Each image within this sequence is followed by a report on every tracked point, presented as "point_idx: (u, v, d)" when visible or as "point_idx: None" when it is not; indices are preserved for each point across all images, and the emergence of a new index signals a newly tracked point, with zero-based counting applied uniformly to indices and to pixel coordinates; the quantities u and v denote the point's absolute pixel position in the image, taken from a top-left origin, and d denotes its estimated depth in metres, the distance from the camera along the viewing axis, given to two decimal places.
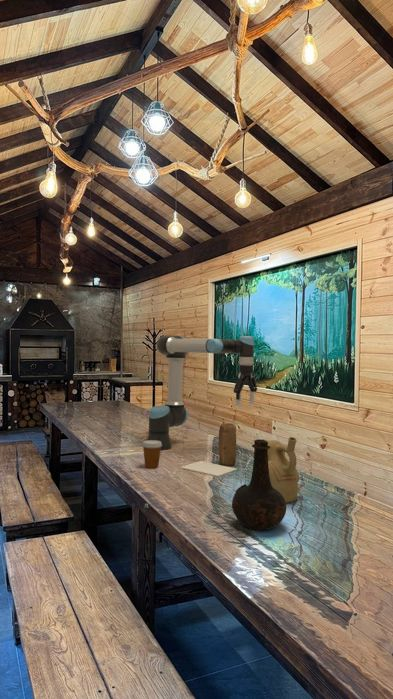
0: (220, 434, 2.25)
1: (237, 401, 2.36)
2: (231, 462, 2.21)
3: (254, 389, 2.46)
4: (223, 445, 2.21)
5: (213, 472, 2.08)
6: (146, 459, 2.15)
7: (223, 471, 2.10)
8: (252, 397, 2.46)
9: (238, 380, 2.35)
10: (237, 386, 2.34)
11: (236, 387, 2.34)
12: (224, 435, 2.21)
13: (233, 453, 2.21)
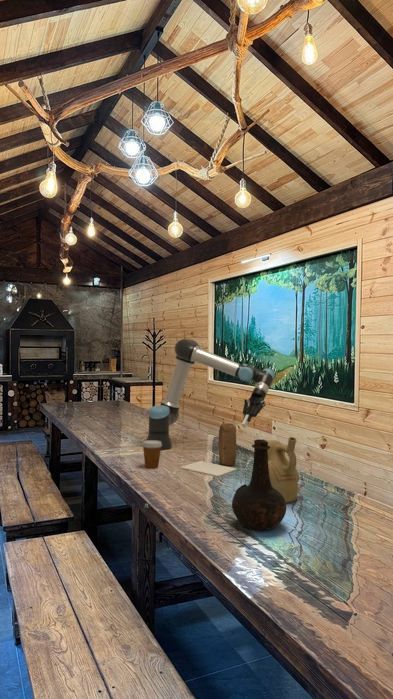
0: (220, 434, 2.25)
1: None
2: (231, 462, 2.21)
3: (250, 412, 2.42)
4: (223, 445, 2.21)
5: (213, 472, 2.08)
6: (146, 459, 2.15)
7: (223, 471, 2.10)
8: None
9: None
10: None
11: None
12: (224, 435, 2.21)
13: (233, 453, 2.21)
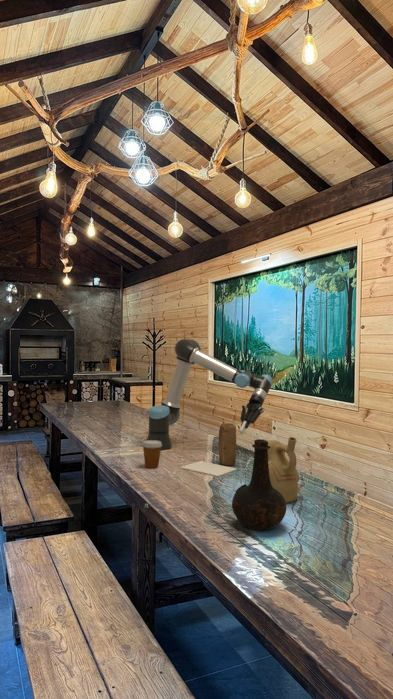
0: (220, 434, 2.25)
1: None
2: (231, 462, 2.21)
3: (248, 419, 2.40)
4: (223, 445, 2.21)
5: (213, 472, 2.08)
6: (146, 459, 2.15)
7: (223, 471, 2.10)
8: None
9: None
10: None
11: None
12: (224, 435, 2.21)
13: (233, 453, 2.21)
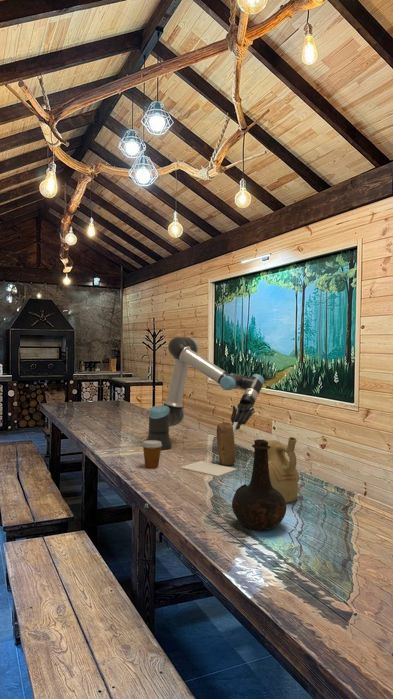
0: (218, 434, 2.24)
1: None
2: (231, 461, 2.21)
3: (239, 420, 2.32)
4: (221, 446, 2.20)
5: (213, 472, 2.08)
6: (146, 459, 2.15)
7: (223, 471, 2.10)
8: None
9: None
10: None
11: None
12: (221, 435, 2.19)
13: (232, 452, 2.21)
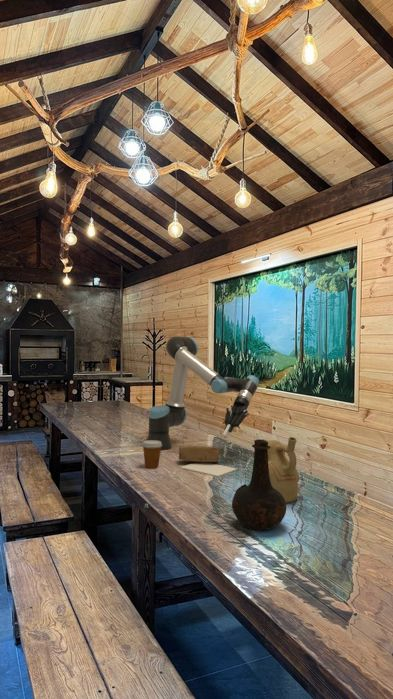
0: None
1: None
2: (215, 452, 2.22)
3: (232, 422, 2.27)
4: (197, 460, 2.21)
5: (213, 472, 2.08)
6: (146, 459, 2.15)
7: (223, 471, 2.10)
8: None
9: None
10: None
11: None
12: (187, 459, 2.21)
13: (205, 450, 2.22)
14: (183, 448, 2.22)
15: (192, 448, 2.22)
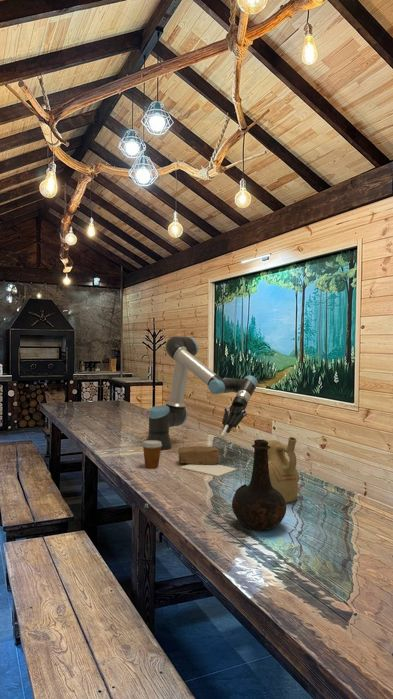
0: None
1: None
2: (214, 455, 2.21)
3: (230, 423, 2.26)
4: (197, 463, 2.21)
5: (213, 472, 2.08)
6: (146, 459, 2.15)
7: (223, 471, 2.10)
8: None
9: None
10: None
11: None
12: (187, 462, 2.21)
13: (205, 453, 2.20)
14: (183, 452, 2.21)
15: (192, 452, 2.21)
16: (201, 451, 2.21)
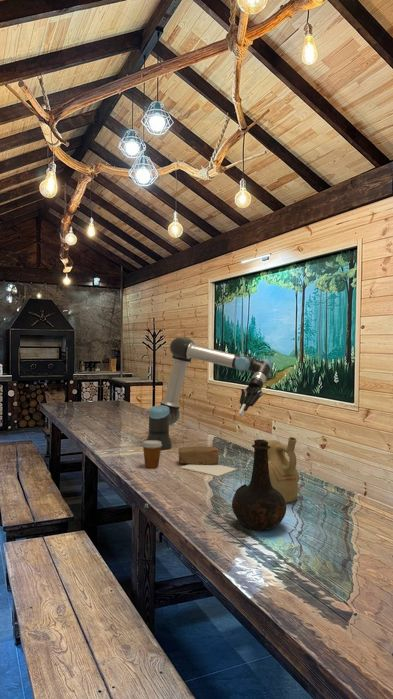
0: None
1: None
2: (214, 455, 2.21)
3: (247, 402, 2.41)
4: (197, 463, 2.21)
5: (213, 472, 2.08)
6: (146, 459, 2.15)
7: (223, 471, 2.10)
8: None
9: None
10: None
11: None
12: (187, 462, 2.21)
13: (205, 453, 2.20)
14: (183, 452, 2.21)
15: (192, 452, 2.21)
16: (201, 451, 2.21)
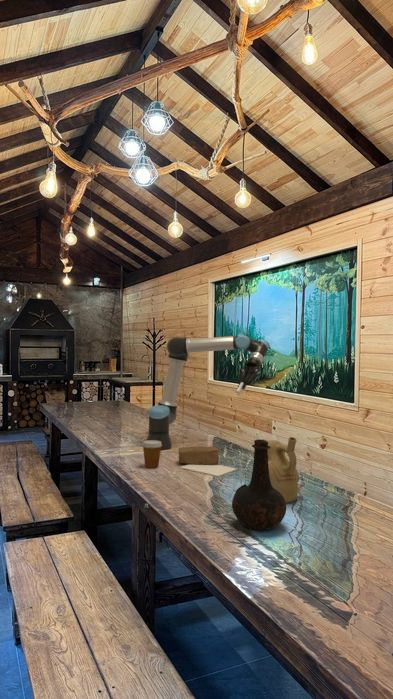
0: None
1: None
2: (214, 455, 2.21)
3: (245, 380, 2.46)
4: (197, 463, 2.21)
5: (213, 472, 2.08)
6: (146, 459, 2.15)
7: (223, 471, 2.10)
8: None
9: None
10: None
11: None
12: (187, 462, 2.21)
13: (205, 453, 2.20)
14: (183, 452, 2.21)
15: (192, 452, 2.21)
16: (201, 451, 2.21)
